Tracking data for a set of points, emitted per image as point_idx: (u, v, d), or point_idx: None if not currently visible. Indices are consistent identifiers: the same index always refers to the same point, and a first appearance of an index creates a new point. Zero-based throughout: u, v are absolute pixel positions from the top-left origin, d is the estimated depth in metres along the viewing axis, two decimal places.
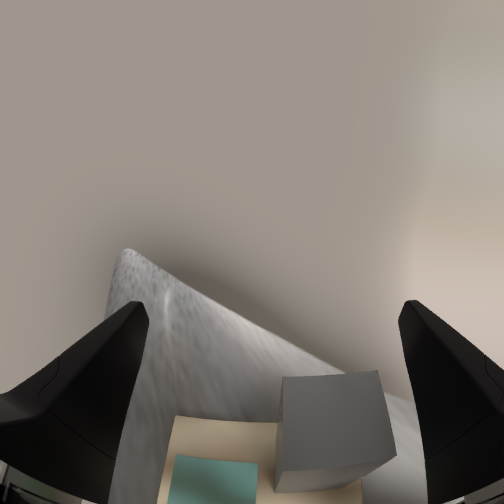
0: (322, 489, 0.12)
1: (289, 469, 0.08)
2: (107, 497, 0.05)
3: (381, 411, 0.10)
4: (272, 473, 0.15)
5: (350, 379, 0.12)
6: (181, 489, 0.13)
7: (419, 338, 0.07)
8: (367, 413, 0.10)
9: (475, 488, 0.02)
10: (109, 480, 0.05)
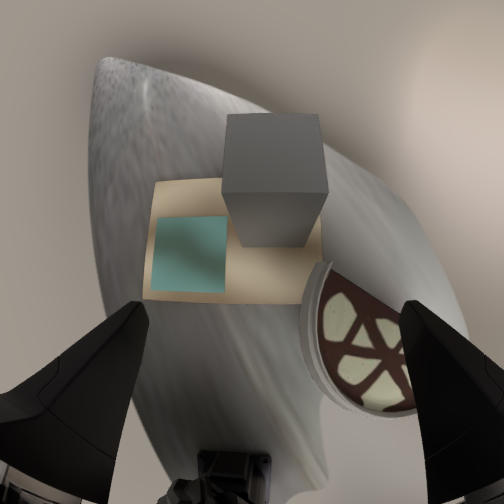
0: (283, 244, 0.21)
1: (226, 191, 0.12)
2: (107, 497, 0.05)
3: (316, 148, 0.13)
4: None
5: (289, 117, 0.13)
6: (163, 252, 0.22)
7: (419, 338, 0.07)
8: (303, 148, 0.13)
9: (475, 488, 0.02)
10: (109, 480, 0.05)
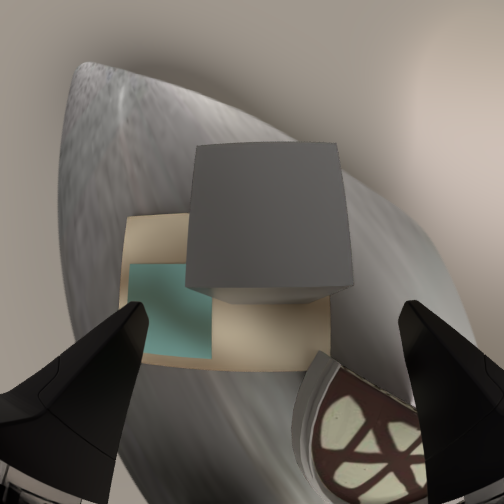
0: (283, 303, 0.16)
1: (193, 284, 0.08)
2: (107, 497, 0.05)
3: (336, 205, 0.08)
4: None
5: (293, 149, 0.09)
6: None
7: (419, 338, 0.07)
8: (314, 205, 0.08)
9: (475, 488, 0.02)
10: (108, 480, 0.05)
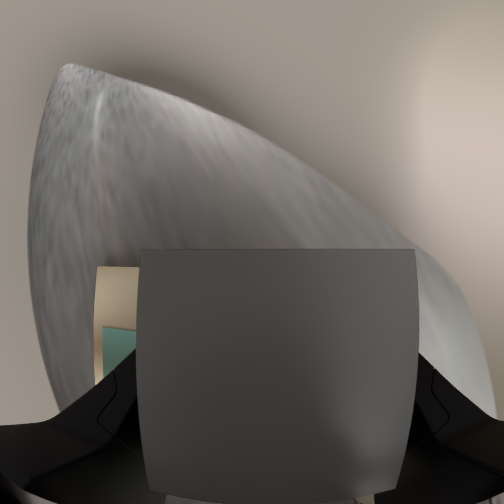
0: None
1: (160, 490, 0.03)
2: None
3: (401, 386, 0.04)
4: None
5: (335, 270, 0.04)
6: None
7: None
8: (365, 393, 0.04)
9: None
10: (161, 497, 0.05)
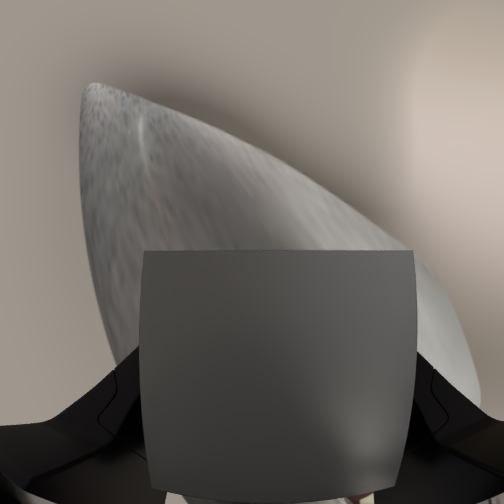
0: None
1: (163, 488, 0.04)
2: None
3: (399, 385, 0.04)
4: None
5: (335, 271, 0.04)
6: None
7: None
8: (364, 392, 0.04)
9: None
10: (162, 497, 0.05)
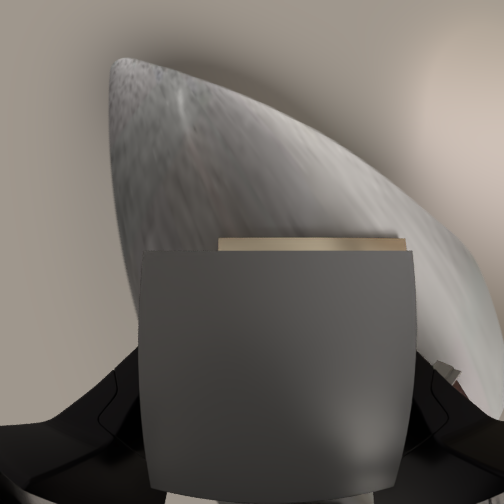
0: None
1: (162, 488, 0.04)
2: None
3: (398, 385, 0.04)
4: None
5: (334, 271, 0.04)
6: None
7: None
8: (363, 391, 0.04)
9: None
10: (162, 497, 0.05)
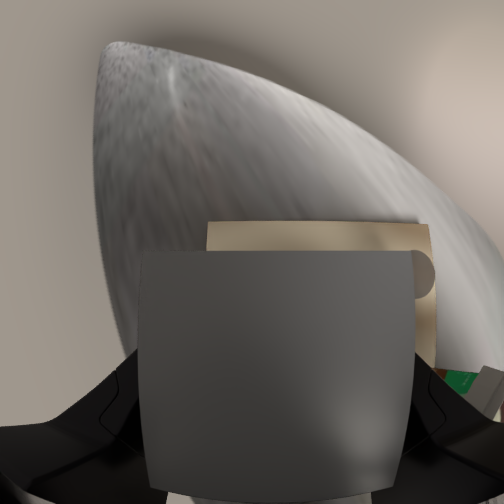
0: None
1: (161, 487, 0.04)
2: None
3: (397, 385, 0.04)
4: None
5: (333, 270, 0.04)
6: None
7: None
8: (362, 392, 0.04)
9: None
10: (163, 497, 0.05)
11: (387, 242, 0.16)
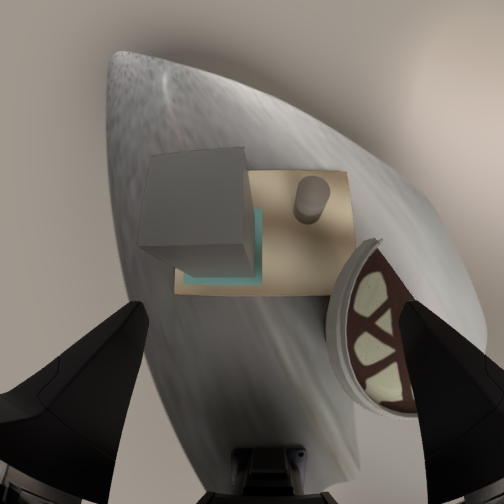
0: (232, 275, 0.21)
1: (142, 244, 0.12)
2: (107, 497, 0.05)
3: (235, 190, 0.12)
4: (275, 219, 0.22)
5: (211, 154, 0.13)
6: None
7: (419, 338, 0.07)
8: (220, 191, 0.12)
9: (475, 488, 0.02)
10: (109, 480, 0.05)
11: None
